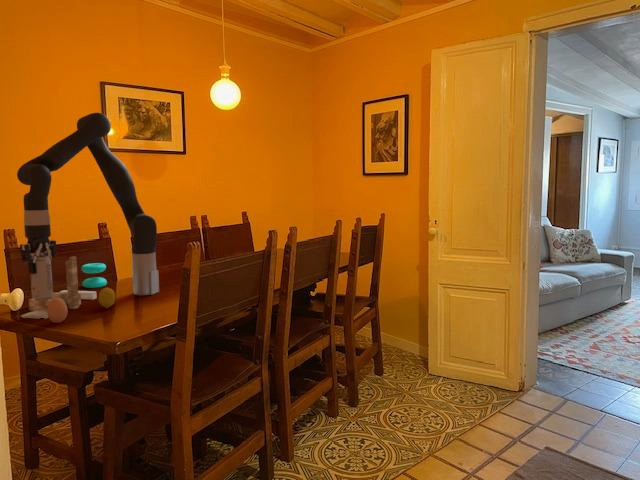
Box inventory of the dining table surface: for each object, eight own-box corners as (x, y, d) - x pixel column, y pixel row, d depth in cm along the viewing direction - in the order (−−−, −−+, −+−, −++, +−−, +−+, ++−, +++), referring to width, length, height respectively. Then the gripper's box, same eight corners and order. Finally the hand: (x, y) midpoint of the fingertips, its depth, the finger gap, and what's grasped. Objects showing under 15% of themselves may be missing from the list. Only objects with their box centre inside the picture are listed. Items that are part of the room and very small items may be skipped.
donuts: (76, 266, 198) (90, 262, 208) (77, 288, 199) (91, 283, 209) (97, 266, 197) (110, 262, 207) (98, 288, 198) (111, 284, 208)
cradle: (87, 304, 171) (84, 254, 169) (66, 312, 160) (62, 259, 158) (46, 302, 174) (43, 253, 172) (23, 310, 162) (19, 258, 160)
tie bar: (96, 298, 181) (96, 291, 181) (92, 300, 179) (92, 292, 178) (64, 297, 183) (64, 290, 183) (60, 298, 181) (59, 291, 180)
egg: (61, 319, 151) (60, 294, 150) (71, 321, 148) (70, 297, 147) (44, 323, 146) (42, 298, 145) (54, 326, 143) (52, 300, 142)
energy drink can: (35, 297, 158) (32, 255, 156) (54, 296, 160) (52, 254, 158) (30, 301, 152) (27, 258, 151) (51, 300, 154) (48, 257, 153)
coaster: (64, 311, 160) (63, 309, 160) (45, 318, 152) (45, 316, 151) (41, 310, 162) (41, 308, 162) (21, 317, 153) (21, 315, 153)
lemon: (119, 307, 167) (118, 286, 166) (107, 310, 162) (106, 289, 161) (107, 305, 169) (106, 284, 168) (95, 309, 163) (94, 287, 163)
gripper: (30, 225, 146) (34, 276, 148) (62, 222, 160) (64, 268, 162) (10, 224, 147) (13, 275, 149) (43, 222, 161) (46, 268, 163)
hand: (40, 271), depth 155 cm, fingers closed on energy drink can, 6 cm apart
